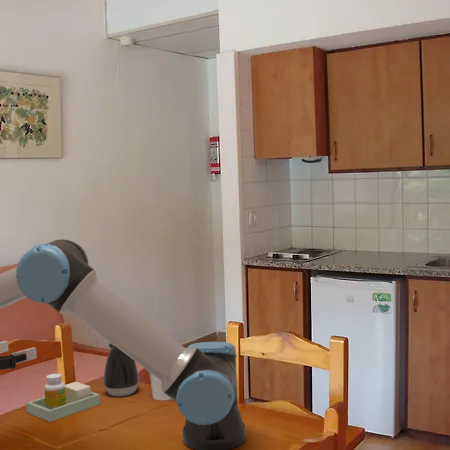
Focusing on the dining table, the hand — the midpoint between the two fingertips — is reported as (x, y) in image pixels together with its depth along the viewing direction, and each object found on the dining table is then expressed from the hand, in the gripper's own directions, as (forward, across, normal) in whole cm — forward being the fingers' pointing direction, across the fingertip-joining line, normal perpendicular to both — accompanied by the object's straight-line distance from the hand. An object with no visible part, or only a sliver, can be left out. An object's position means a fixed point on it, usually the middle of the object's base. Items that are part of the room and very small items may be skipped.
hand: (21, 349), depth 163 cm
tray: (+11, 0, -20) cm, 23 cm away
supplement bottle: (+8, 0, -19) cm, 21 cm away
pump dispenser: (+29, +3, -20) cm, 36 cm away
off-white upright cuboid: (+15, 0, -19) cm, 25 cm away
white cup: (+34, +16, -21) cm, 43 cm away
